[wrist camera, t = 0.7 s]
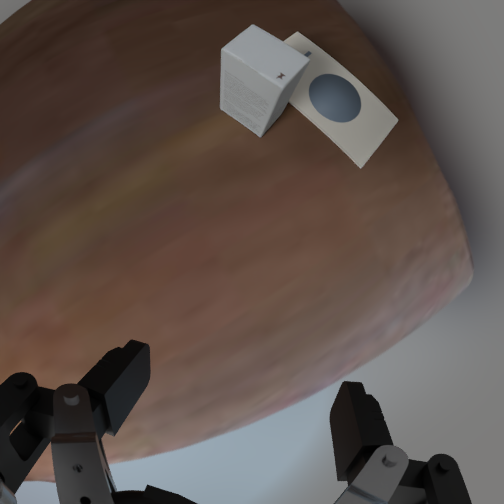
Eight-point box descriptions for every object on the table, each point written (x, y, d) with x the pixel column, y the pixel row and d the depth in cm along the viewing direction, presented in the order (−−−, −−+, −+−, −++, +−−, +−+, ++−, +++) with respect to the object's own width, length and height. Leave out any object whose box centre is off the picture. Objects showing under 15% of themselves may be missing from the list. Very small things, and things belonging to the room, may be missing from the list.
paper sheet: (247, 70, 30) (247, 68, 29) (296, 32, 30) (297, 31, 29) (360, 168, 32) (361, 167, 32) (397, 120, 32) (399, 119, 32)
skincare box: (282, 113, 31) (314, 60, 19) (260, 138, 30) (283, 91, 19) (241, 84, 30) (252, 21, 18) (217, 108, 30) (218, 49, 18)
